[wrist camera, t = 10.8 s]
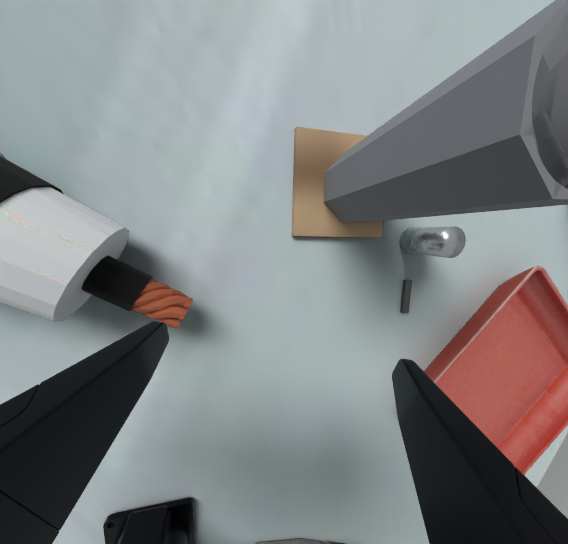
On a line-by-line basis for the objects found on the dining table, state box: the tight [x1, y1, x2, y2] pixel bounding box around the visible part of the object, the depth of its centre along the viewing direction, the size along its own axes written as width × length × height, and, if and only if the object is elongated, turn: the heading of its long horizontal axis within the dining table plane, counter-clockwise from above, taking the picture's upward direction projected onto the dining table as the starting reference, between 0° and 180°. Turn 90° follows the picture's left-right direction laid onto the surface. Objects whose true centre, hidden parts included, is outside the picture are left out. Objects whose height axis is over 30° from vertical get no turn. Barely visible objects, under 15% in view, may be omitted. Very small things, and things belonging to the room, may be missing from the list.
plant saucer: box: [424, 266, 568, 475], centre depth 24 cm, size 18×18×3 cm
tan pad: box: [292, 127, 383, 238], centre depth 18 cm, size 8×8×1 cm
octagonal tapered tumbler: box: [324, 0, 568, 222], centre depth 12 cm, size 5×5×12 cm
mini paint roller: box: [400, 227, 465, 313], centre depth 19 cm, size 8×2×4 cm, turn 179°
